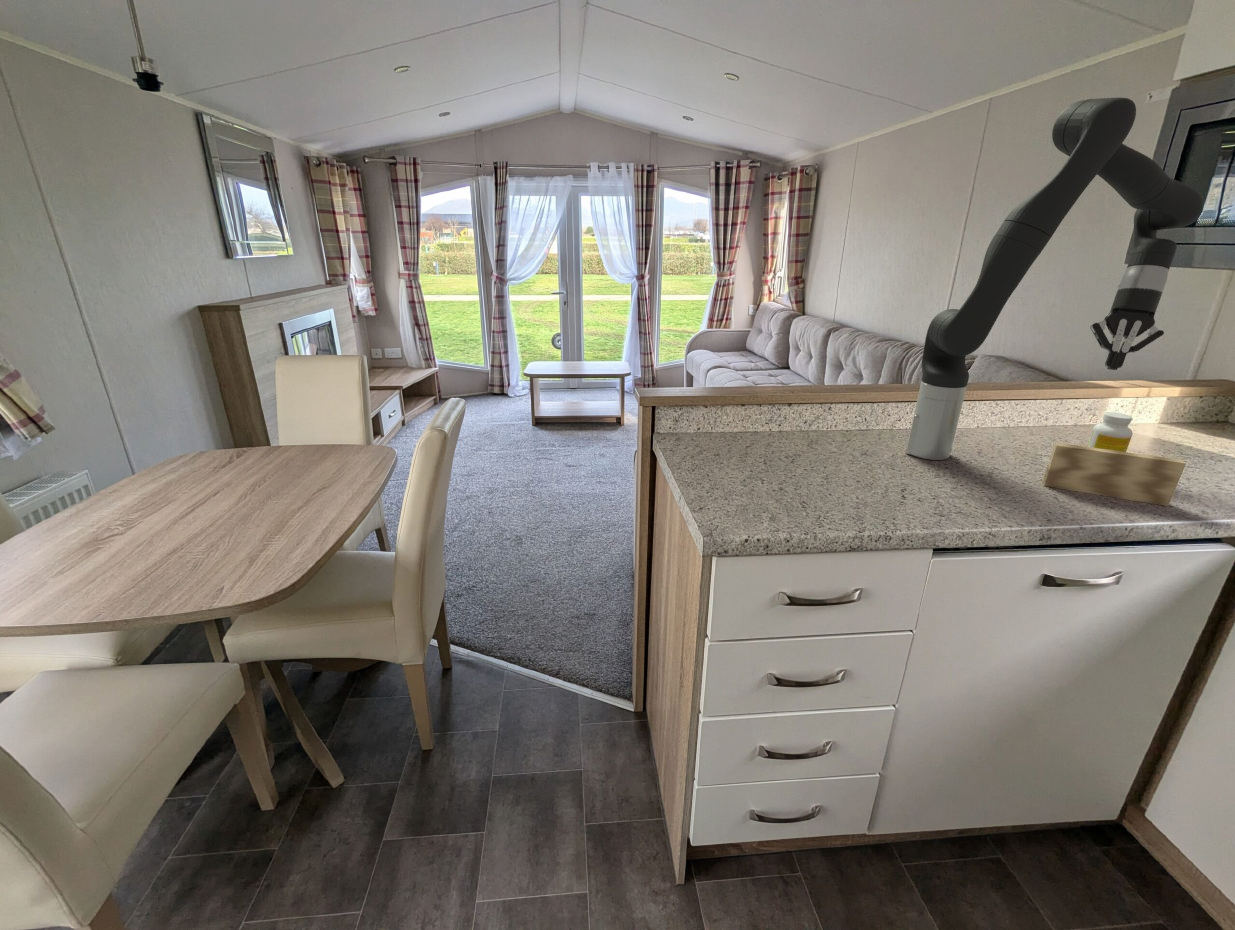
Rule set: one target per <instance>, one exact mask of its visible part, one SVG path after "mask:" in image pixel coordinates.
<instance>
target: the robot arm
mask: <svg viewBox="0 0 1235 930" xmlns="http://www.w3.org/2000/svg"><path fill="white" fill-rule="evenodd" d="M1136 116H1137V107H1136V104H1135V102H1134V101H1133V100H1132V99H1130V98H1128V97H1104V98H1102V97H1101V98H1089V99H1083V100H1079V101H1076V102H1073V103H1071V104H1070V105H1067V107H1065V108H1064V109H1063V110H1062V111H1061V112H1060V114H1058V116H1057V118H1056V120H1055V121H1054V124H1053V127H1052V132H1051V137H1052V138H1051V139H1052V143H1053V145H1054V146H1055V148H1056V149H1057V150H1058V151H1059V152H1061V153H1063V154H1065V156H1068V158H1067V159H1066V160H1065V163H1063V165H1062V167H1061V168H1060V169H1059V170H1058V171H1057V172H1056V173H1055V174H1054V175H1053V176H1052V177H1051V178H1050V179H1049V180H1047V181H1046V182H1045V183H1044V184H1043V185H1041V186H1040V187H1039V188H1038V189H1037V190H1035V191H1033V193H1031V194H1029V195H1028V196H1027V197H1026V198H1025V199H1023V200H1022V201H1020V203H1018V204H1017V205H1016V206H1015V207H1014V208H1013V209H1012V210H1011V211H1010V212H1009V213H1008V215H1007V216H1006V217H1005V219H1004V220H1003V222H1002V224H1001V225H1000V227H999V228H998V229H997V231H996V233H995V234H994V236H993V237H992V238H991V241H990V243H989V245H988V247H987V249H986V251H985V254H984V258H983V262H982V265H981V270H980V273H979V276H978V278H977V279H978V280H977V281H976V284H975V285H974V288H973V289H972V291H971V292H970V294H969V295H968V297H967V298H966V300H965V301H964V303H963V304H962V306H961V307H960V308H959V309H958V308H949V309H945V310H942V311H940V312H939V313H937V314H936V315H935V316H934V317H933V319H931V321H930V324H929V325H928V329H927V331H926V335H925V341H924V347H923V351H922V358H921V371H922V374H921V375H922V376H921V381H920V386H919V390H918V395H917V399H916V405H915V409H914V411H913V412H914V413H913V418H912V423H911V427H910V431H909V435H908V436H909V437H908V442H907V447H906V450H905V454H907V455H911V456H914V457H916V458H920V459H924V460H932V461H941V460H947V459H949V458H950V456H951V452H952V449H953V444H954V441H955V438H956V437H955V436H956V432H957V429H958V424H959V420H960V416H961V413H962V408H963V404H964V399H965V395H966V392H967V389H968V383H969V380H970V372H969V371H968V368H967V365H966V356H968V355H971V354H972V353H974V352H976V351H977V350H978V349H979V348H980V347H981V346H982V345H983V344H984V342H985V341H986V339H987V337H988V336H989V334H990V333H991V331H992V329H993V327H994V325H995V323H996V322H997V320H998V318H999V316H1000V314H1001V312H1002V310H1003V309H1004V307H1005V306H1006V303H1007V302H1008V300H1009V299H1010V297H1011V296H1012V295H1013V293H1014V292H1015V290H1016V289H1017V287H1018V286H1019V284H1020V283H1021V282H1022V280H1023V279H1024V277H1025V276H1026V274H1027V272H1029V270H1030V268H1031V267H1032V265H1033V264H1034V263H1035V261H1036V260H1037V258H1038V257H1039V256H1040V255H1041V253H1042V252H1043V250H1044V249H1045V247H1046V246H1047V245H1048V243H1049V241H1050V240H1051V238H1052V237H1053V235H1054V234H1055V232H1056V231H1057V229H1058V228H1059V227H1060V225H1061V223H1062V222H1063V220H1065V217H1066V216H1067V214H1068V213H1069V212H1070V210H1071V209H1072V208H1073V206H1074V205H1076V203H1077V201H1078V200H1079V198H1080V196H1081V195H1082V194H1083V192H1084V191H1085V190H1086V189H1087V187H1088V186H1089V185H1090V183H1092V181H1093V180H1094V179H1095V177H1096V176H1098V177H1100V178H1101V179H1102V180H1103V181H1104V182H1106V183H1107V184H1108V185H1109V186H1110V187H1111V188H1112V189H1113V190H1114V191H1115V192H1117V194H1118V195H1119V196H1120V197H1121V198H1122V199H1123V200H1124V201H1125V202H1126V203H1127V204H1128V205H1129V207H1132V208H1133V209H1135V212H1134V215H1133V241H1132V242H1133V244H1132V252H1131V254H1130V258H1129V260H1128V262H1127V266H1126V269H1125V271H1124V273H1123V275H1122V276H1121V279H1120V282H1119V284H1118V286H1117V290H1116V293H1115V296H1114V299H1113V301H1112V302H1113V303H1112V305H1111V308H1110V311H1109V313H1108V314H1107V315H1106V316H1105V317H1104V318H1103V319H1104V320H1103V319H1102V320H1101V321H1099V322H1094V323H1092V325H1090V326H1089V327H1090V331H1091V332H1092V334H1093V335H1094V337H1095V339H1096V341H1097V343H1098V344H1099V346H1100V348H1101V349H1103V350H1106V351H1108V354H1107V357H1106V360H1105V363H1104V366H1105V367H1107V368H1106V370H1109V371H1111V370H1112V371H1118V369H1121V368H1122V366H1123V365H1124V363H1125V359H1126V357H1127V354H1129V353H1136V352H1138V351H1141V350H1142V349H1143V348H1145V347H1146V346H1148V345H1150V344H1151V343H1153V342H1154V341H1156V340H1157V339H1159V338H1160V337H1162V336H1163V335H1164V334H1165V331H1164V330H1161V329H1159V328H1158V327H1157V326H1156V325H1155V324H1156V321H1155V314H1156V312H1157V309H1158V307H1159V303H1160V301H1161V298H1162V295H1163V293H1164V289H1165V287H1166V285H1167V281H1168V276H1169V271H1170V268H1171V267H1172V263H1173V260H1174V257H1175V253H1176V252H1177V247H1178V245H1177V243H1176V242H1175V241H1174V240H1172V239H1168V238H1160V237H1159V238H1158V236H1157V233H1158V231H1163V230H1170V229H1180V228H1184V227H1188V226H1189V225H1192V224H1194V223H1195V222H1196V221H1197V220H1198V219H1199V218H1200V217H1201V215H1202V213H1203V210H1204V204H1205V203H1204V198H1203V197H1202V195H1201V194H1200V193H1199V191H1197V189H1195V188H1193V187H1191V186H1189V185H1187V184H1185V183H1183V182H1181V181H1179V180H1177V179H1174V178H1171V177H1170V176H1169V175H1168V174H1167V173H1166V172H1165V171H1164V169H1162V167H1161V166H1160V165H1159V164H1158V163H1157V162H1156V161H1155V160H1153V158H1151V157H1149V156H1147V155H1146V154H1144V153H1142V152H1140V151H1137V149H1134V148H1132V147H1129V146H1127V145H1126V144H1124V143H1123V142H1124V141H1125V140H1126V139H1127V137H1128V135H1129V133H1130V132H1131V130H1132V128H1133V125H1134V123H1135V120H1136ZM1106 329H1107V330H1108V332H1109V334H1110V335H1111V339H1110V341H1109V338H1108V337H1107V335H1106V334H1105V332H1104V331H1105V330H1106ZM1147 331H1148V332H1147ZM1145 332H1147V333H1146V338H1144V339H1142V340H1141V341H1139V342H1138V343H1136V344H1135V345H1132V344H1133V343H1134V341H1135V339H1136V338H1138V337H1139V336H1141V335H1143V334H1144V333H1145Z"/></svg>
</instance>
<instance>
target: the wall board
mask: <svg viewBox="0 0 1235 930" xmlns="http://www.w3.org/2000/svg"><path fill="white" fill-rule="evenodd" d="M1186 465H1187V463H1186V462H1185V461H1184V460H1183V459H1179V458H1171V457H1165V456H1164V457H1163V456H1157V455H1150V454H1149V455H1148V454H1142V453H1134V452H1128V451H1126V452H1121V451H1114V450H1106V449H1099V448H1092V447H1087V446H1084V445H1083V446H1082V445H1077V444H1076V445H1075V444H1071V443H1070V444H1069V443H1064V442H1063V443H1061V442H1055V443H1054V445H1053V448H1052V451H1051V455H1050V458H1049V461H1048V464H1047V467H1046V470H1045V472H1044V473H1045V474H1044V476H1043V480H1042V484H1043V486H1044V487H1049V488H1056V489H1062V490H1067V491H1074V492H1079V493H1085V494H1090V495H1091V494H1092V495H1099V496H1103V497H1110V498H1116V499H1122V500H1127V501H1128V500H1129V501H1132V502H1133V501H1135V502H1140V503H1146V504H1152V505H1159V506H1164V507H1169V505H1170V503H1171V500H1172V498H1173V496H1174V493H1175V491H1176V489H1177V486H1178V484H1179V481H1180V479H1181V477H1182V474H1183V472H1184V470H1185V467H1186Z"/></svg>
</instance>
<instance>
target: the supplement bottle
mask: <svg viewBox="0 0 1235 930" xmlns="http://www.w3.org/2000/svg"><path fill="white" fill-rule="evenodd" d="M1132 420H1133V417H1132V415H1129V414H1126V413H1122V412H1115V411H1107V412H1104V413H1103V416H1102V422H1099V423H1097V424H1095V425H1094V426H1093V429H1092V432H1091V434H1090V438H1089V441H1088V444H1087V446H1086V447H1092V448H1099V449H1106V450H1114V451H1121V452H1128V451H1127V450H1128V448H1129V445H1130V443H1131V440H1132V437H1133V431H1132V429H1131V428H1130V427H1129V425H1130V424H1131V423H1132Z"/></svg>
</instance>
